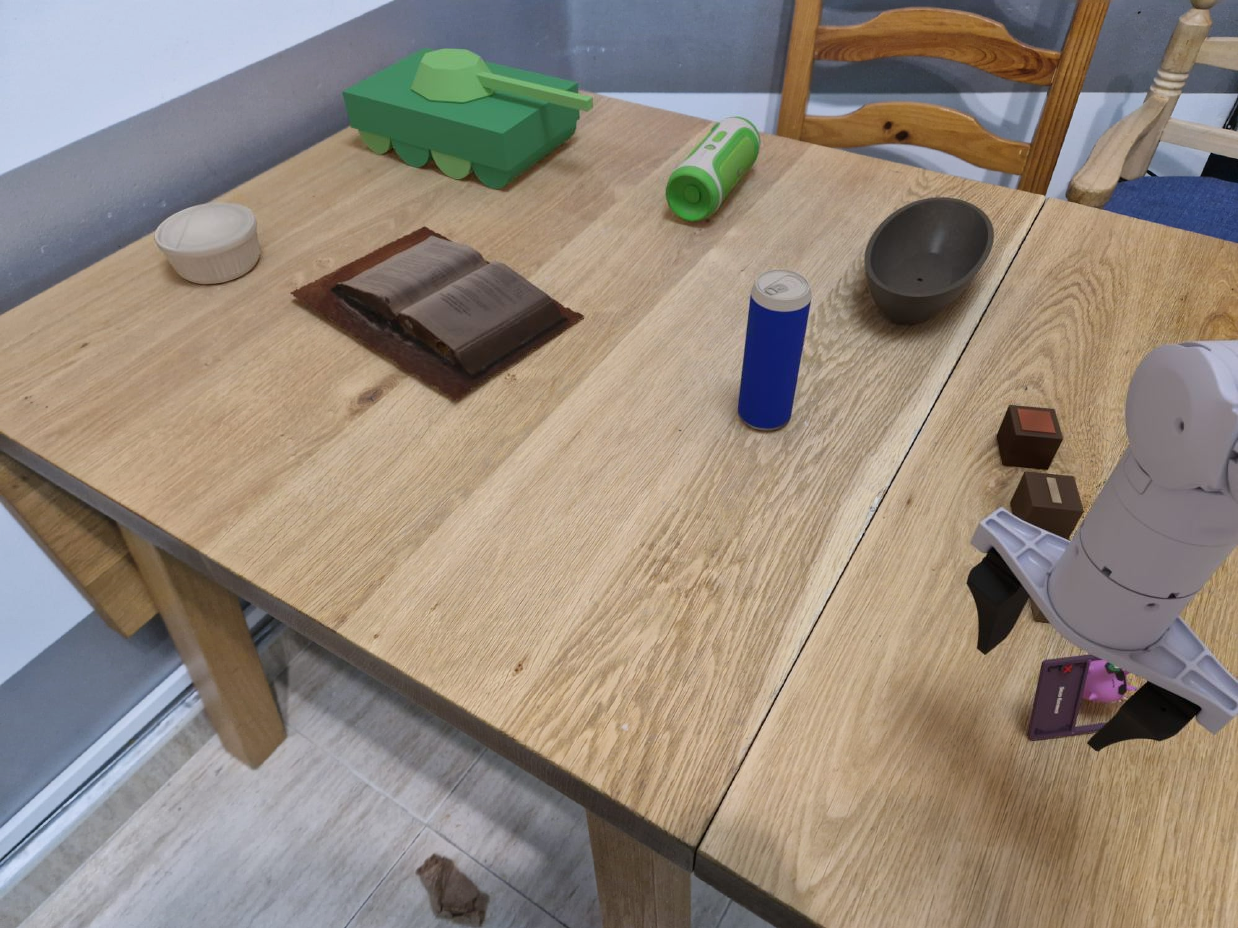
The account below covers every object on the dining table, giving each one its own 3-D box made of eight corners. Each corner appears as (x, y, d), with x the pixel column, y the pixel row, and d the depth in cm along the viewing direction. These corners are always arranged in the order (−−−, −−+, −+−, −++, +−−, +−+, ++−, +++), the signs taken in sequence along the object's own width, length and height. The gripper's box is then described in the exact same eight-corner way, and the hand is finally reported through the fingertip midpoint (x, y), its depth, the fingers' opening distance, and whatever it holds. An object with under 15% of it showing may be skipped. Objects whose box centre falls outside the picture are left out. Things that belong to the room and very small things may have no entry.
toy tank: (552, 117, 103) (335, 63, 116) (559, 210, 112) (356, 151, 125) (626, 65, 113) (419, 21, 126) (627, 154, 122) (434, 104, 135)
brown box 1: (1040, 440, 81) (1055, 407, 78) (1047, 470, 78) (1064, 438, 75) (995, 436, 81) (1009, 403, 78) (1001, 466, 78) (1016, 433, 75)
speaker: (714, 232, 107) (718, 176, 102) (660, 220, 110) (662, 164, 104) (761, 171, 118) (767, 117, 113) (711, 161, 121) (715, 107, 115)
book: (456, 408, 85) (452, 372, 82) (289, 298, 98) (280, 263, 95) (590, 325, 97) (591, 291, 94) (426, 236, 109) (422, 203, 106)
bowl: (829, 325, 94) (839, 276, 89) (897, 233, 106) (909, 186, 102) (940, 361, 89) (956, 311, 85) (997, 260, 102) (1013, 213, 97)
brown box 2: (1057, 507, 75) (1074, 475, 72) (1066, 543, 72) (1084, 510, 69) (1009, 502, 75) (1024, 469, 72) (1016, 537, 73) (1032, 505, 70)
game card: (1051, 671, 56) (1181, 654, 57) (1009, 623, 61) (1130, 608, 61) (1035, 748, 59) (1158, 732, 60) (996, 697, 64) (1111, 682, 64)
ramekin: (157, 261, 104) (139, 222, 101) (245, 230, 109) (231, 191, 105) (191, 302, 98) (173, 262, 94) (283, 267, 103) (270, 227, 99)
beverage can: (766, 391, 86) (784, 260, 75) (801, 419, 83) (826, 288, 72) (726, 411, 84) (739, 280, 73) (761, 441, 81) (780, 309, 70)
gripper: (1343, 610, 39) (1198, 744, 49) (1061, 428, 47) (987, 575, 57) (1262, 695, 36) (1126, 818, 46) (977, 486, 44) (914, 629, 54)
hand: (1044, 688), depth 51 cm, fingers open, 7 cm apart
